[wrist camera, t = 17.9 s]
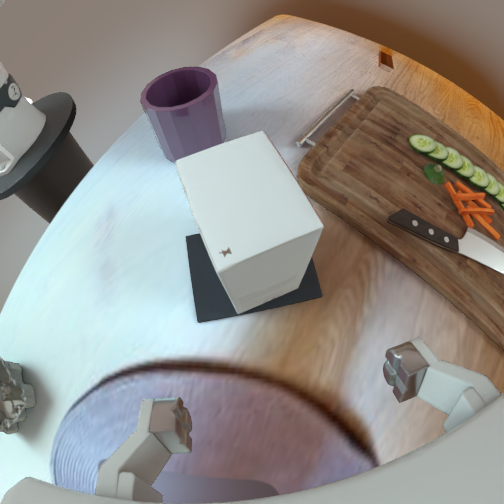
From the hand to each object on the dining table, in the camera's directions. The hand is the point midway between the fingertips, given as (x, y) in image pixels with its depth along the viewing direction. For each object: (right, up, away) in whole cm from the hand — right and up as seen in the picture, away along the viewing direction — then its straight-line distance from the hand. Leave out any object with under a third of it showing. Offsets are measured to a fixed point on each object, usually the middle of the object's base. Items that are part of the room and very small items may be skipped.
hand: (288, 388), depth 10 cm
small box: (-1, +4, +18) cm, 19 cm away
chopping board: (+27, +11, +20) cm, 35 cm away
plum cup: (-9, +20, +25) cm, 33 cm away
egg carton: (-32, -14, +13) cm, 38 cm away
